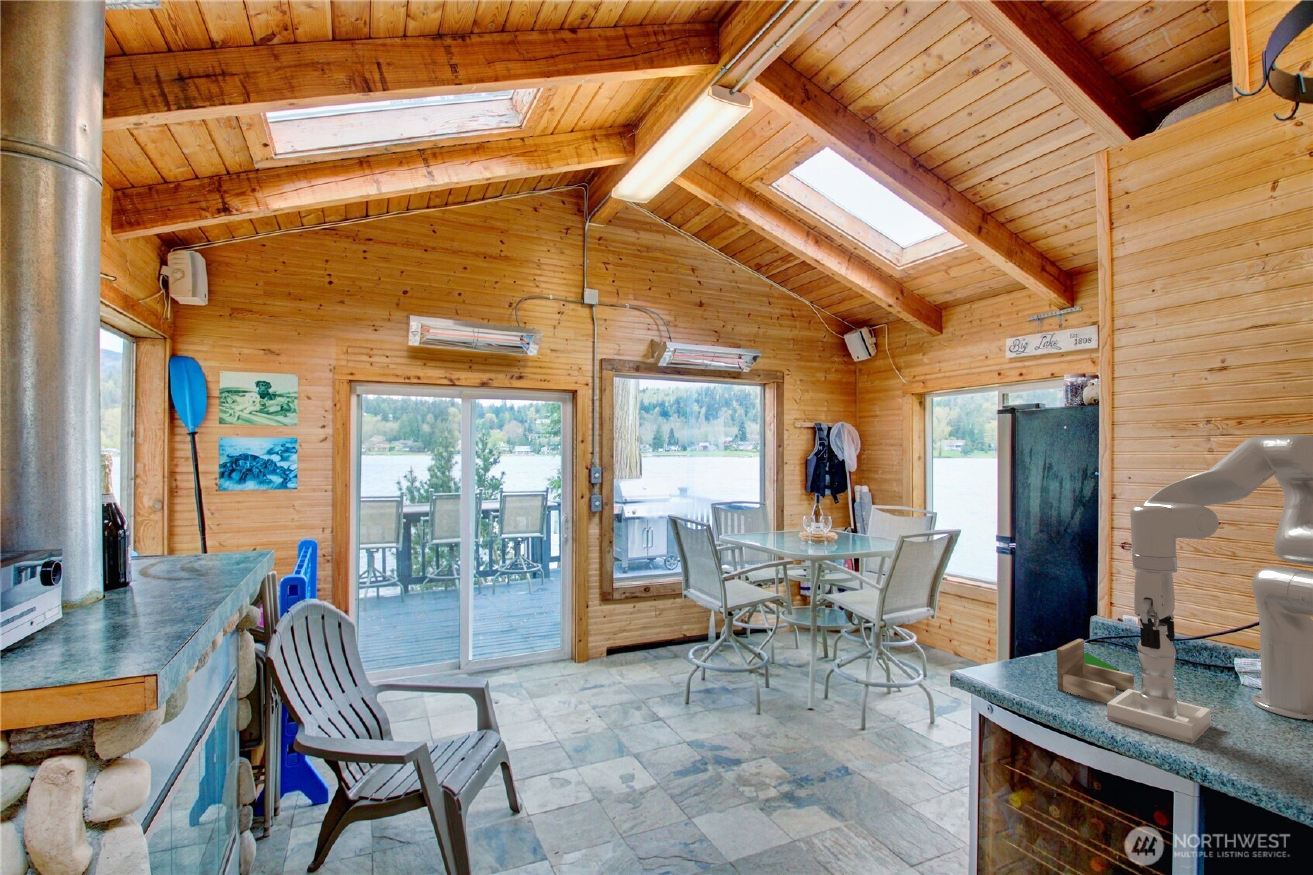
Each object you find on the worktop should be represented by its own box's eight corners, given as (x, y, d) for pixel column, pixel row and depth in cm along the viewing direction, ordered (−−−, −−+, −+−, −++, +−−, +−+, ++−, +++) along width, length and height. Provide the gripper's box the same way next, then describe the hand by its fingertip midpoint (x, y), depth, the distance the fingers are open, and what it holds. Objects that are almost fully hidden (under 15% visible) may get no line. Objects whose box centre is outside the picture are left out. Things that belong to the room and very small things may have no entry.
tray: (1210, 725, 133) (1210, 708, 133) (1192, 743, 125) (1191, 726, 125) (1129, 704, 144) (1128, 688, 144) (1107, 719, 136) (1107, 703, 136)
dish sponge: (1087, 661, 175) (1086, 652, 175) (1120, 679, 161) (1120, 669, 161) (1060, 660, 175) (1060, 652, 175) (1091, 678, 161) (1091, 669, 161)
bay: (1134, 691, 152) (1133, 649, 152) (1114, 705, 143) (1113, 661, 144) (1079, 677, 161) (1078, 638, 161) (1057, 690, 153) (1056, 648, 153)
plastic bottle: (1186, 725, 131) (1183, 628, 131) (1149, 722, 132) (1146, 627, 132) (1167, 712, 137) (1165, 620, 137) (1132, 710, 138) (1130, 619, 139)
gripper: (1146, 555, 143) (1149, 630, 143) (1119, 566, 133) (1123, 647, 133) (1188, 559, 137) (1192, 638, 137) (1163, 571, 127) (1167, 655, 127)
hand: (1158, 642), depth 135 cm, fingers open, 9 cm apart
